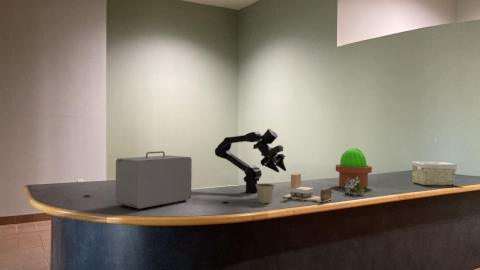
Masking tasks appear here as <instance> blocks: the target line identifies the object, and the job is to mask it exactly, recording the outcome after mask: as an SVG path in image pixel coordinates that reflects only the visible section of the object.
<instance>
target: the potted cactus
mask: <svg viewBox="0 0 480 270" xmlns="http://www.w3.org/2000/svg"><path fill="white" fill-rule="evenodd" d="M372 171H373V167H372V166H371V165H369V164H368V165H367V160H366V156H365V154H364V153H363V151H362V150H360V149H358V148H350V149H346V150H345V151H344V152H343V153H342V155H341V158H340V163H339V164H335V172H338V186H339V188H342V187H344V188H343V189H346V188H345V186H346V184H347V183H348V182H347V183H346V184H345V182H346V180H347V179H350V180H352V179H354V178H356V177H358V180H360V182H359V187H363V188H365V189H367V188H368V184H369V183H368V182H369V174H371V173H372ZM350 180H349V181H350ZM358 180H357V181H358ZM366 185H367V188H366ZM364 186H365V187H364ZM352 190H355V188H353V189H352Z"/></svg>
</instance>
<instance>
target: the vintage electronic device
mask: <svg viewBox="0 0 480 270" xmlns="http://www.w3.org/2000/svg"><path fill="white" fill-rule="evenodd" d="M148 154H163V155H153V156H149V155H148ZM192 161H193V160H192V158H191V157H190V156H180V155H169V154H167V155H165V151H163V150H162V151H161V150H160V151H158V150H157V151H147V152H146V153H145V156H137V157H135V156H134V157H118V158H116V160H115V203H116V204H118V205H121V207H123V208H126V207H131V208H134V209H135V208H136V209H137V211H139V212H141V210H142V211H144V209H146V208H150V207H154V206H160V205H167V204H172V203H176V202H181V203H187V201H188V200H190V199H192Z"/></svg>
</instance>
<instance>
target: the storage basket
mask: <svg viewBox="0 0 480 270" xmlns="http://www.w3.org/2000/svg"><path fill="white" fill-rule="evenodd" d="M457 165H458V164H457V163H451V162H444V161H411V171H412V173H411V175H412V182H413V183H414V184H415V183H416V184H419V185H423V186H425V185H426V186H453V185H452V184H455V178H456V172H457Z"/></svg>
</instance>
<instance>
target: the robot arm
mask: <svg viewBox="0 0 480 270" xmlns="http://www.w3.org/2000/svg"><path fill="white" fill-rule="evenodd" d="M278 136H279V135H278V134H277V133H276V132H275V131H274V130H272V129H271V128H268V129H267V130H266V132H264V133H263V134H261V133H260V132H259V131H251V132H249V133H246V134H244V135H237V136H236V135H235V136H226V137H225V138H224V139H223V140H222V141H221V142H220V143H219V144H218V145H217V147H215V149H214V154H215V156H216V157H217V158H219V159H220V158H221V159H225V160H227V162H229V163H231V165H232V164H233V165H234V166H235V167H237V168H238V169H240V171H243V173H244V175H245V176H244V177H243V178H242V179H243V182H244V183H245V191H244V193H246V194H250V193H251V194H258V192H257V188H256V184H258V182H259V181H260V178H261V177H262V174H263V173H262V170H261V169H260V167H258V166H257V165H255V164H248V163H246V162H245V161H243V160H242V159H240V158H239V157H237V156H236V155H235V154H233V153H232V152H231V148H232V144H235V143H245V142H247V143H253V147H252V149H253V150H256V149H257V150H258V151H259V152H260V156H261V157H262V159H261V160H260V165H261V166H262V167H266V168H269V169H271V171H272V170H273V171H274V172H276V173H280V170H279V169H281V170H282V171H284V172H286V171H287V168H286V166H285V162H284V159H285V157H286V156H285V154H284V153H280V152H284V146H283V145H281V144H279V145H275V146H274V147H270V146H269V145H272V144H273V142H274V141H276V139H277V138H278ZM278 153H279V154H278Z"/></svg>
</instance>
